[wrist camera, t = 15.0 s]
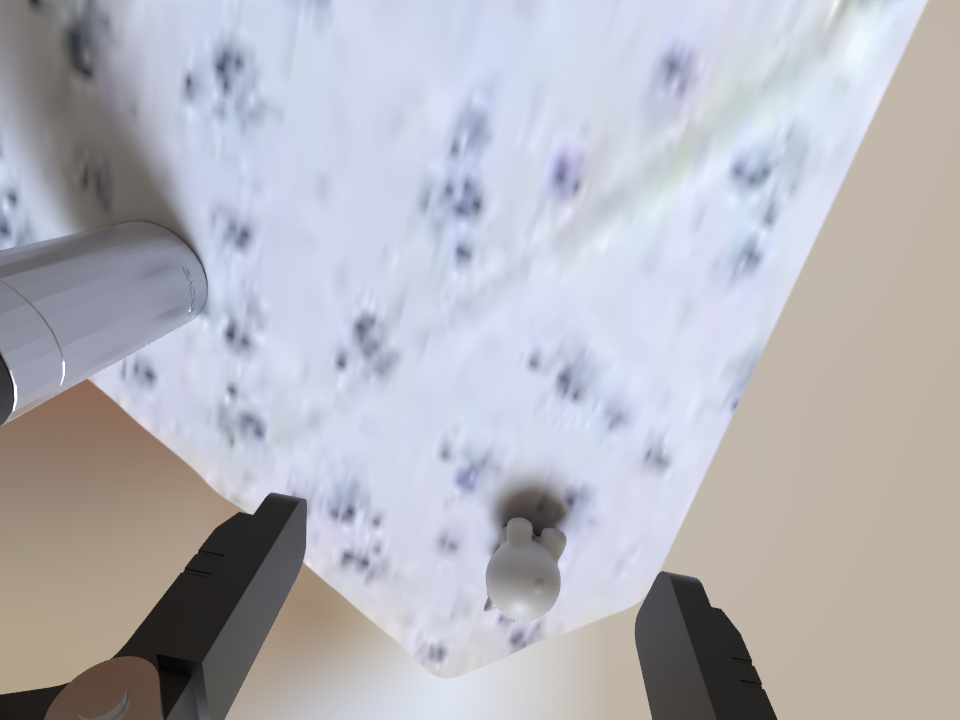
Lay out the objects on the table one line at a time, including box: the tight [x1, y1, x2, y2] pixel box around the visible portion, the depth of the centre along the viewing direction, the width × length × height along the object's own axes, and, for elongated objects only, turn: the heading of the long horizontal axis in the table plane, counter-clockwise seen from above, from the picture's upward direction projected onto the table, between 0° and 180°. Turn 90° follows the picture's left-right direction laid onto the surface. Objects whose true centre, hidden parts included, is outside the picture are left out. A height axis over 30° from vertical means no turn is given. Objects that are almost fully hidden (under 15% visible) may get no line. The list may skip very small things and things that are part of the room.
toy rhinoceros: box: [484, 518, 566, 622], centre depth 48 cm, size 7×12×8 cm, turn 157°
